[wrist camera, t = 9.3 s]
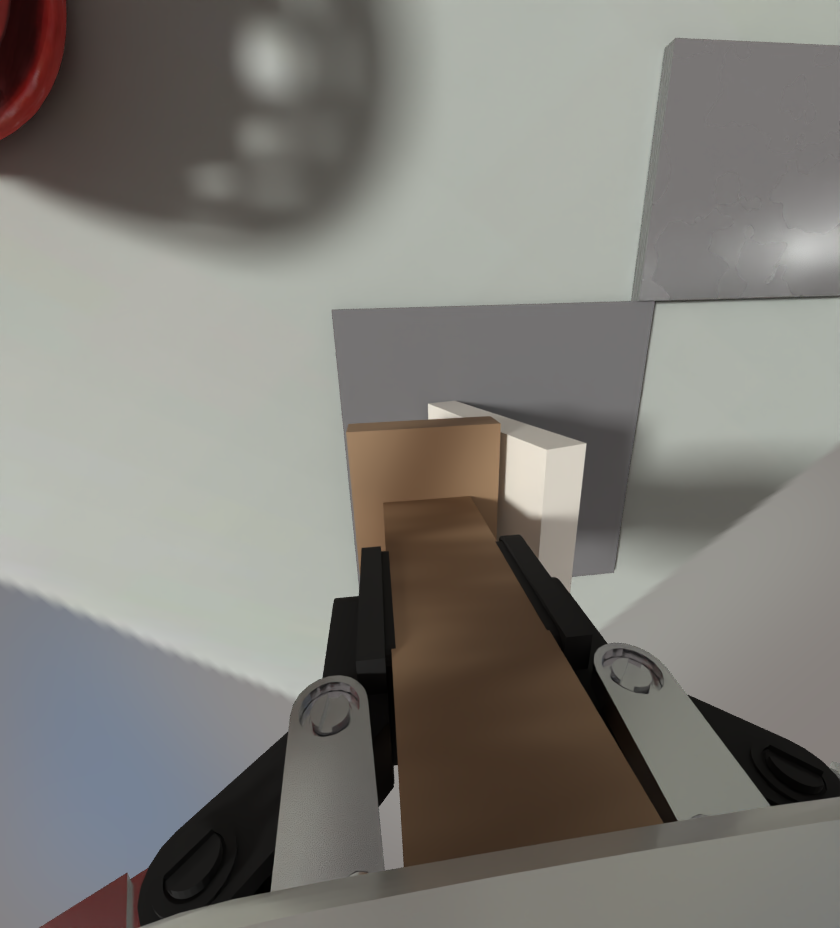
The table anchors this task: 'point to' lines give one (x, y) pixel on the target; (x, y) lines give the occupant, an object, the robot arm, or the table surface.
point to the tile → (534, 486)
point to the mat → (511, 384)
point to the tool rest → (743, 174)
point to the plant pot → (28, 57)
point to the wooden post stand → (476, 659)
